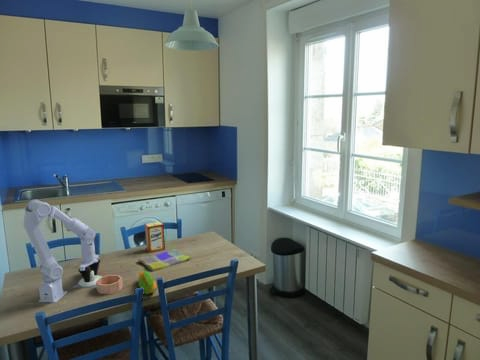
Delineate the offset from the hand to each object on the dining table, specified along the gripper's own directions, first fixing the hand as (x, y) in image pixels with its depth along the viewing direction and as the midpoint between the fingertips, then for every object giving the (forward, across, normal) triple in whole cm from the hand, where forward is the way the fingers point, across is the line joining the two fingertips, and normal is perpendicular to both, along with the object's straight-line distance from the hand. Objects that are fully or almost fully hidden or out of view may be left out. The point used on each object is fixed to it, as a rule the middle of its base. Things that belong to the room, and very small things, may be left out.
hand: (91, 278), depth 173 cm
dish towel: (+3, +27, -28) cm, 39 cm away
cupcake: (-3, +11, +7) cm, 13 cm away
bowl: (+2, -6, -12) cm, 14 cm away
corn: (+2, -4, -28) cm, 29 cm away
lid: (+2, 0, 0) cm, 2 cm away
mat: (+2, 0, 0) cm, 2 cm away
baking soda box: (+2, +44, -18) cm, 47 cm away
